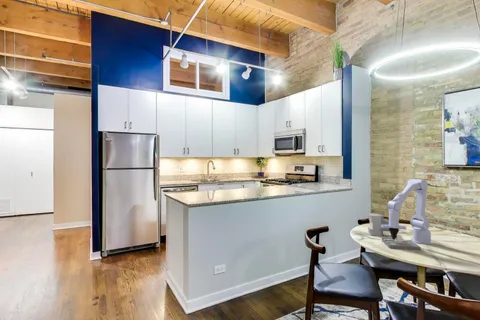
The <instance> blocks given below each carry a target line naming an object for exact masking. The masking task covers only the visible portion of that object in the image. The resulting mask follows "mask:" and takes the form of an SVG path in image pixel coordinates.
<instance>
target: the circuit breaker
mask: <svg viewBox="0 0 480 320" xmlns="http://www.w3.org/2000/svg"><path fill="white" fill-rule="evenodd" d="M368 220H369V226H368V231H367V232H368V234H369V235H370V236H374V237H384V232H388V233H390V231H389V229H388V228H382V227H381V225H388V224H389V219H386V218H384V215H383V214H380V213H368Z"/></svg>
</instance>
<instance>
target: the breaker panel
mask: <svg viewBox="0 0 480 320" xmlns="http://www.w3.org/2000/svg"><path fill="white" fill-rule="evenodd" d="M381 242H382V243H383V242H384V243H383V244H384V245H386V247H388V249H397V250H408V251H409V250H410V251H411V250H412V251H421V250H422V249H421V246H419V245H418V243H415V242H414V241H412V240H411V239H402V242H396V241H395V240H393V239H392V238H386V237H385V238H382V239H381Z"/></svg>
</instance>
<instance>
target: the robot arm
mask: <svg viewBox="0 0 480 320" xmlns="http://www.w3.org/2000/svg"><path fill="white" fill-rule="evenodd" d="M406 182H407V185H406V186H405V188H404V189H403V190H402V191H401V192H399V193H397V194H396V195H395V197H394V198H393V199H392V200H389V201H388V202H387V204H386V207H387V211H388V221H389V224H388V225H381V227H382V228H388V229H389V231H390V232H389V233H390V235H391V239H393V240H395V238H396V235H397V234H398V233H399V232H400V230H407V226H406V225H400V224H399V223H400V222H399V221H400V210H401V209H402V206H403V204H404V202H405V201H406V200H407V198H408V197H407V196H409V194H410V193H412V192H413V191H416V204H415V214H414V215H412V216H411V220H410V225H411V227H412V229H413V234H412V235H413V238H411V239H410V240H411V241H412V242H414V243H415V244H424V245H426V244H427V245H428V244H429V245H431V244H432V242H431V241H432V239H431V238H432V237H431V236H432V234H431V230H429V228H430V221H429V217H427V216H426V205H427V193H428V184H429V183H428V182H427V180H426V179H418V178H413V177H412V178H409V179H408V181H406Z"/></svg>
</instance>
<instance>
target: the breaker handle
mask: <svg viewBox="0 0 480 320" xmlns="http://www.w3.org/2000/svg"><path fill="white" fill-rule="evenodd" d="M402 240H403V236H402V234H398V233H397V235H396V238H395V241H396V242H402Z"/></svg>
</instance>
